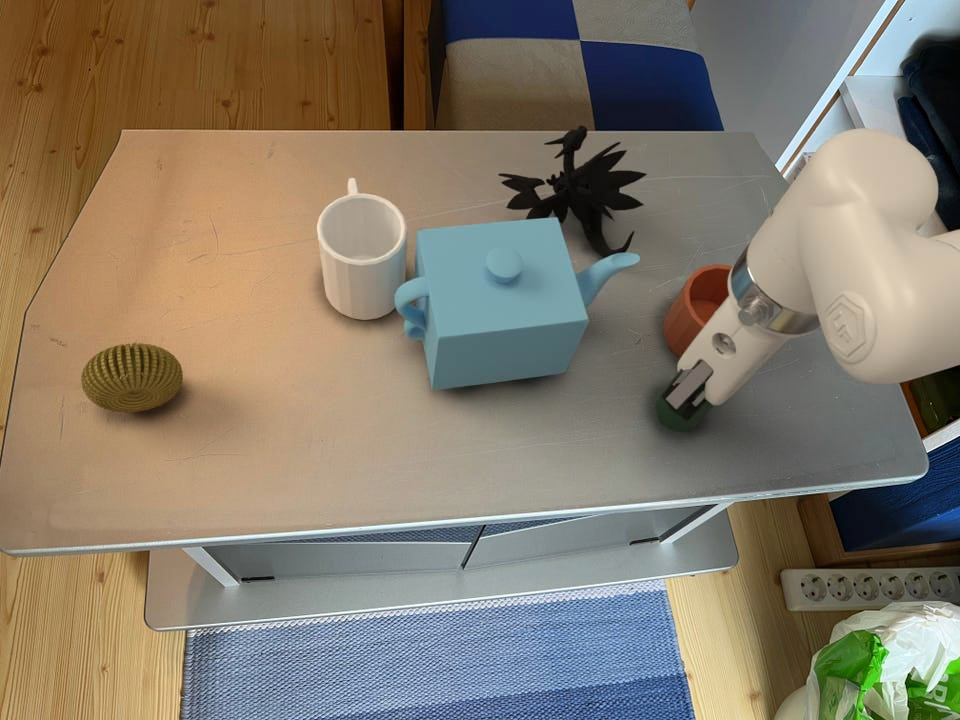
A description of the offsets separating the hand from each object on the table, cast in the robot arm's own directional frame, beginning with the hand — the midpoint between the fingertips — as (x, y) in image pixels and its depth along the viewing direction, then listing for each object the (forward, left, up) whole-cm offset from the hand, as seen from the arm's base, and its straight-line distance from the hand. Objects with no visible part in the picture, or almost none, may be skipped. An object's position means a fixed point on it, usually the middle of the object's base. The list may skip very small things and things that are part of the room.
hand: (694, 390), depth 69 cm
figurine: (+23, -6, -5) cm, 24 cm away
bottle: (0, 0, -5) cm, 5 cm away
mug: (+32, +14, -5) cm, 35 cm away
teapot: (+17, +8, -5) cm, 19 cm away
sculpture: (+33, +38, -5) cm, 51 cm away
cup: (+4, -9, -5) cm, 11 cm away
